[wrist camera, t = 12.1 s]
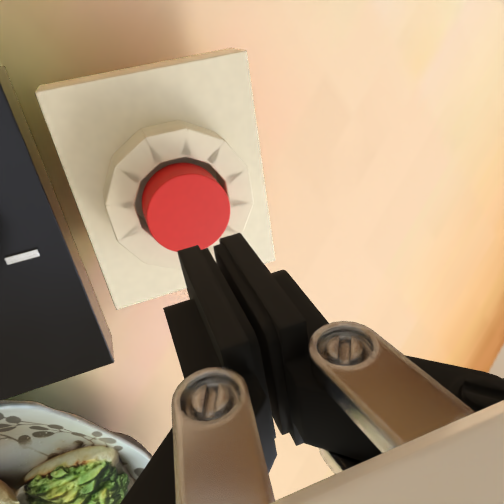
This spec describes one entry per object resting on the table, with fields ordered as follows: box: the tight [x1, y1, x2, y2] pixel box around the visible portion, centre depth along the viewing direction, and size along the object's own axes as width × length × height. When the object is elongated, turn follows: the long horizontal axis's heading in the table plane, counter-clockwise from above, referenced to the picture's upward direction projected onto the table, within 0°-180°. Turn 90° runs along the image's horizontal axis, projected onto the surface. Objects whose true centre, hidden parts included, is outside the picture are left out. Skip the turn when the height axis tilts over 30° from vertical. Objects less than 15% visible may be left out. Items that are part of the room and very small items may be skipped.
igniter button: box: [142, 163, 230, 252], centre depth 19 cm, size 4×4×2 cm
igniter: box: [35, 48, 275, 310], centre depth 21 cm, size 11×9×4 cm
